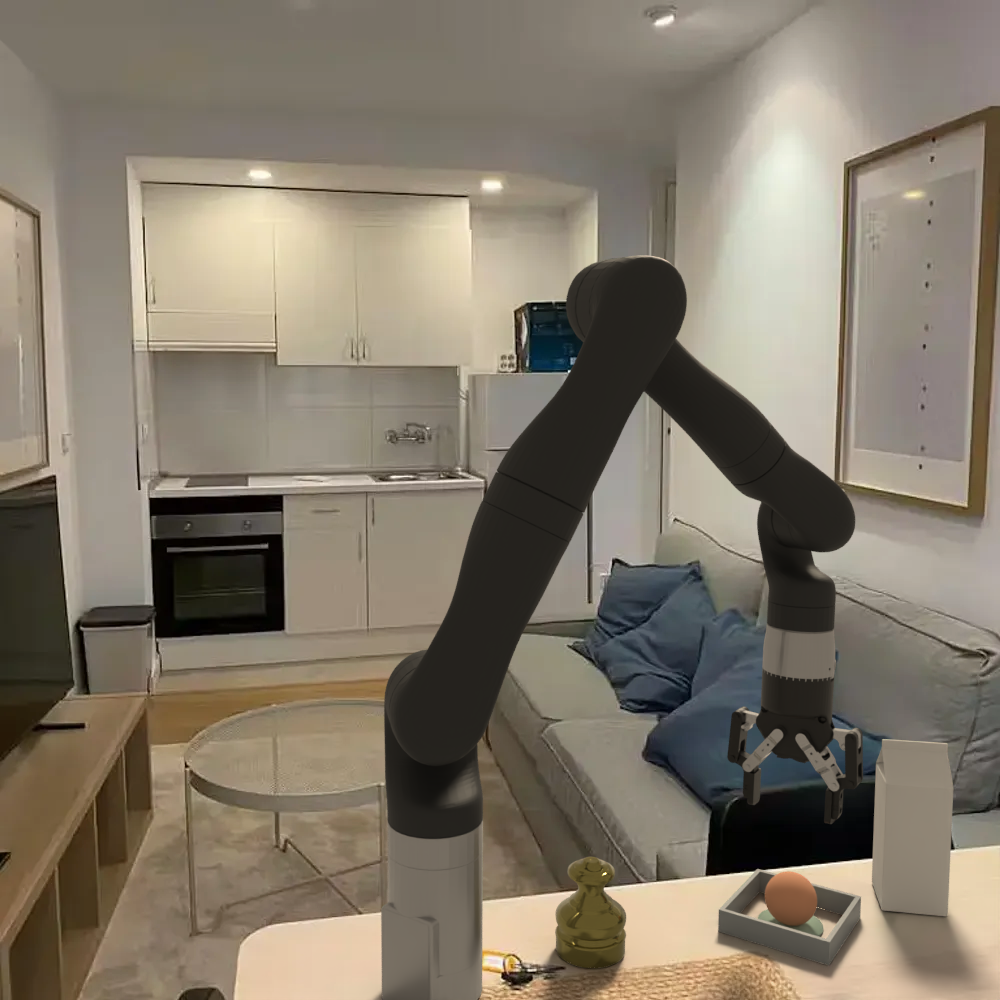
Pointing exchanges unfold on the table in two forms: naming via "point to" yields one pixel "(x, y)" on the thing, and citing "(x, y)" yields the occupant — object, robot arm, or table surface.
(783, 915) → the ball
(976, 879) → the table surface
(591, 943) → the olive green chess piece
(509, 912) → the table surface
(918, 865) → the milk carton
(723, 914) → the grey soap tray
